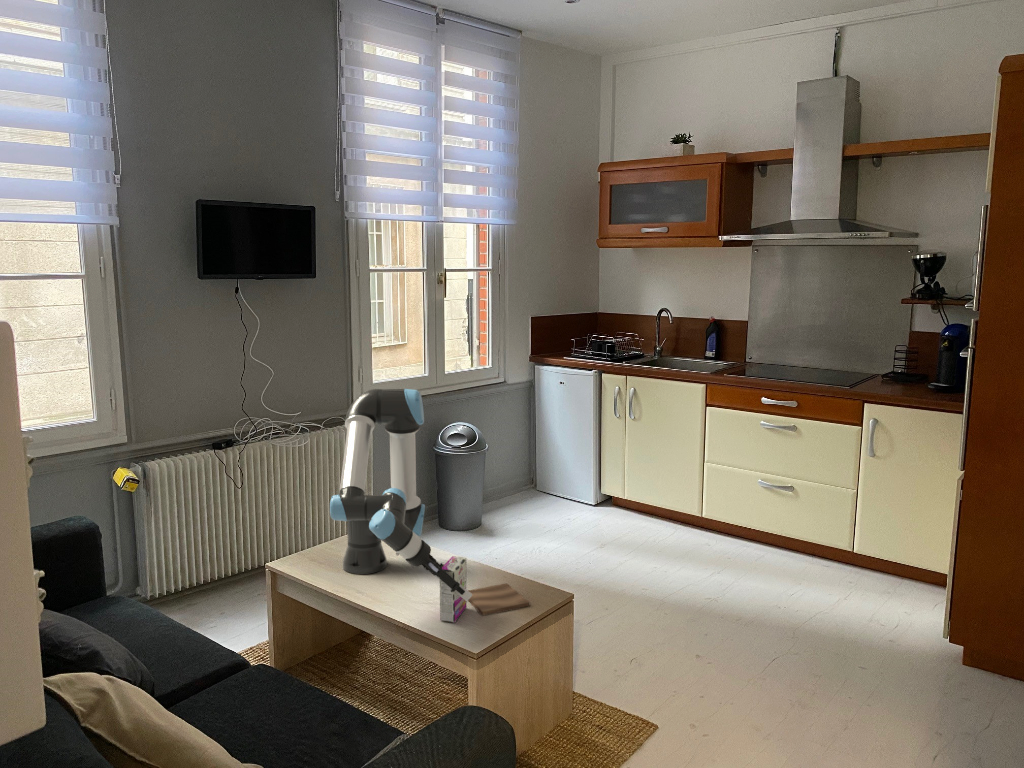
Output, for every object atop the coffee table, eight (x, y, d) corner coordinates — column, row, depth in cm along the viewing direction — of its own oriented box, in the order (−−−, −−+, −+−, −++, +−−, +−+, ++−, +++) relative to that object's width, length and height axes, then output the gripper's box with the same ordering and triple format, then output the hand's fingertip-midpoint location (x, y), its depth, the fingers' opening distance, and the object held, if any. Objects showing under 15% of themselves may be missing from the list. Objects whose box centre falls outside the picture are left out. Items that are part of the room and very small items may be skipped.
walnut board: (462, 595, 253) (462, 591, 253) (507, 586, 260) (507, 583, 260) (482, 615, 239) (482, 611, 239) (529, 606, 246) (529, 602, 246)
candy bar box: (451, 605, 245) (452, 555, 243) (466, 607, 244) (467, 557, 241) (438, 621, 235) (438, 568, 232) (454, 623, 233) (454, 571, 231)
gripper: (392, 545, 240) (439, 585, 249) (418, 574, 219) (468, 615, 228) (408, 526, 241) (455, 566, 251) (436, 553, 220) (485, 595, 230)
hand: (461, 590), depth 239 cm, fingers closed on candy bar box, 11 cm apart
